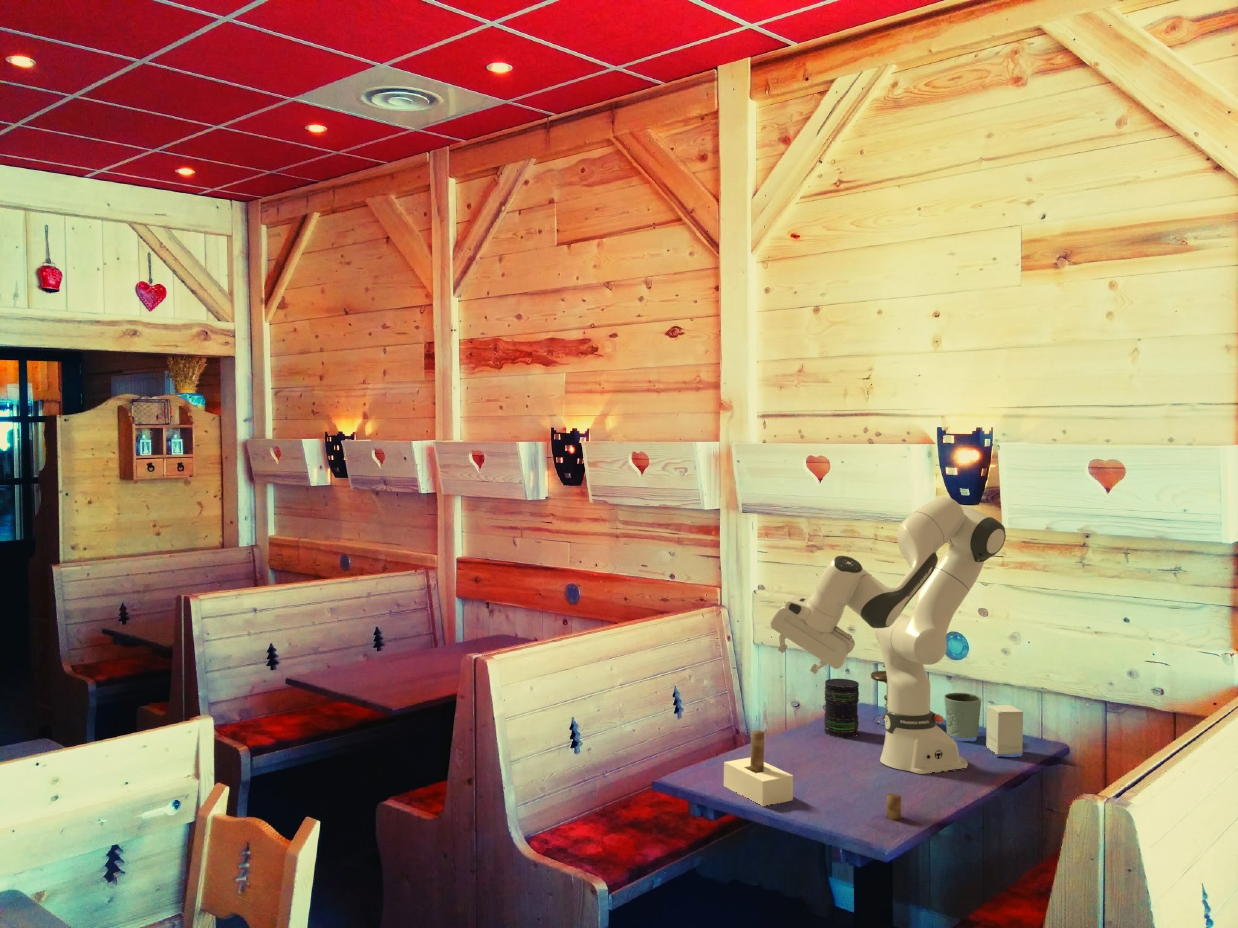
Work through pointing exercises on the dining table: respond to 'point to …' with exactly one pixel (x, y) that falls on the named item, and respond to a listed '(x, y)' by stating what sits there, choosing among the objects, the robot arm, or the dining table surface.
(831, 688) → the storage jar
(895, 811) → the short walnut pin
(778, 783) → the bar
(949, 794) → the dining table surface
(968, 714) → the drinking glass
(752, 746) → the long walnut pin
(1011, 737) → the supplement box
